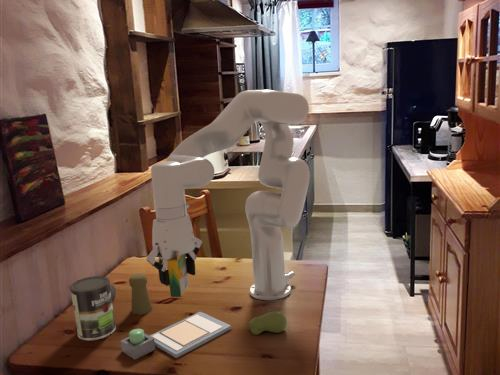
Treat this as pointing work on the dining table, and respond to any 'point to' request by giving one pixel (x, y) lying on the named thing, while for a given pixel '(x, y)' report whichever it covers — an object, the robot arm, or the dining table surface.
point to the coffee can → (93, 308)
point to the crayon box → (177, 275)
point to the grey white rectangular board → (189, 334)
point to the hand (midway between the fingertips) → (178, 278)
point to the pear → (268, 323)
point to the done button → (136, 336)
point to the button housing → (138, 347)
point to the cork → (140, 294)
